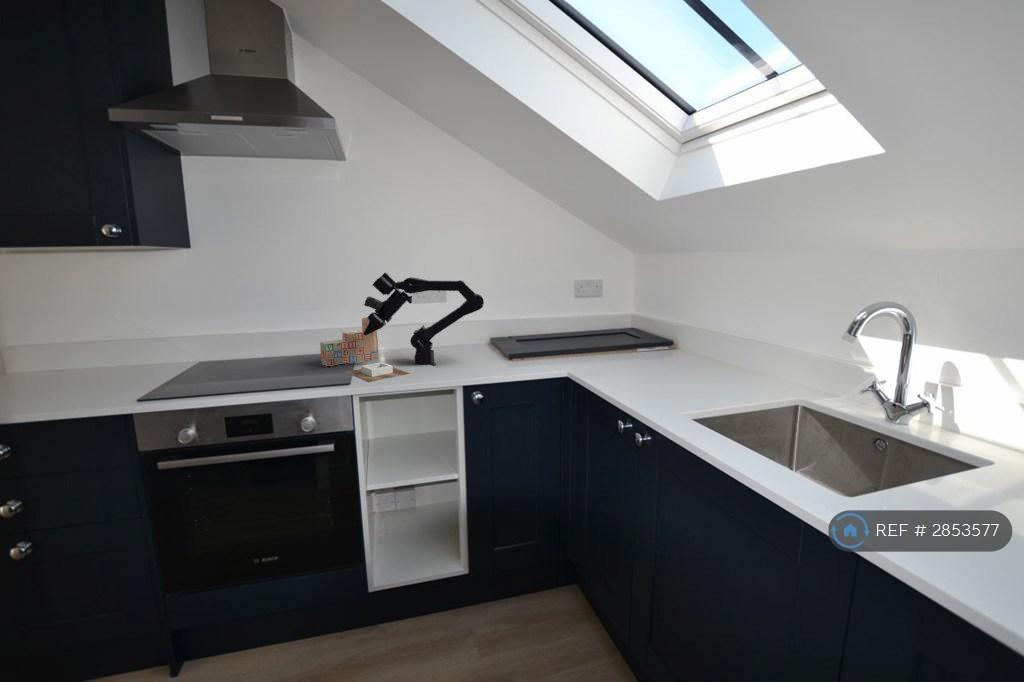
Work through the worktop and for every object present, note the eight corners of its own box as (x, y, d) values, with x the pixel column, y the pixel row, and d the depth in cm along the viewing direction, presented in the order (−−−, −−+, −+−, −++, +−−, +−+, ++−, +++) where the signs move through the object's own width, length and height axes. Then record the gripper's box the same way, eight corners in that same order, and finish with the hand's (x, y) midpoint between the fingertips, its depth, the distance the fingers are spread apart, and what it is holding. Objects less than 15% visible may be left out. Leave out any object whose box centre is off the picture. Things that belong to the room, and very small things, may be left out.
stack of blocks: (326, 367, 184) (323, 336, 182) (321, 364, 189) (318, 334, 186) (379, 359, 197) (377, 330, 195) (372, 356, 202) (371, 328, 200)
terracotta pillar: (376, 349, 183) (374, 317, 180) (374, 351, 179) (372, 318, 177) (366, 349, 182) (363, 317, 180) (364, 351, 179) (361, 319, 176)
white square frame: (382, 368, 176) (381, 362, 175) (392, 372, 170) (392, 365, 169) (361, 372, 170) (361, 365, 170) (372, 376, 165) (371, 369, 164)
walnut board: (385, 367, 183) (385, 364, 182) (410, 376, 169) (410, 373, 169) (345, 375, 172) (344, 371, 172) (368, 385, 158) (368, 382, 158)
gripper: (381, 287, 186) (355, 315, 187) (371, 291, 167) (342, 322, 169) (403, 306, 188) (376, 334, 189) (395, 312, 170) (366, 343, 171)
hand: (365, 333), depth 179 cm, fingers closed on terracotta pillar, 4 cm apart
